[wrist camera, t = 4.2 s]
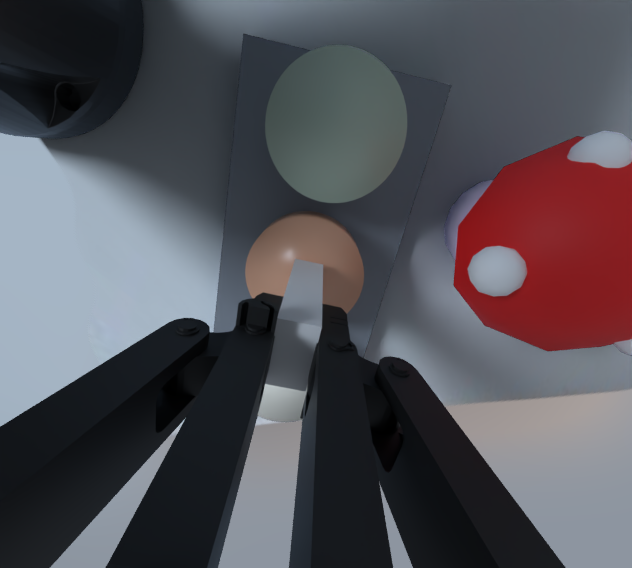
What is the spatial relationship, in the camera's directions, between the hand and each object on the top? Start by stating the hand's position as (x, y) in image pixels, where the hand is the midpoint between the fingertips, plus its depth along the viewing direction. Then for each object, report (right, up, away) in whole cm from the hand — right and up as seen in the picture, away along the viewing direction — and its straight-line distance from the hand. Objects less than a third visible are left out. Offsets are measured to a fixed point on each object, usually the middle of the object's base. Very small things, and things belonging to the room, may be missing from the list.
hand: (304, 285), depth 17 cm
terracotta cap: (0, +1, +3) cm, 3 cm away
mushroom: (+14, +5, +6) cm, 16 cm away
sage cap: (+2, +8, 0) cm, 8 cm away
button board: (0, +3, +7) cm, 8 cm away
